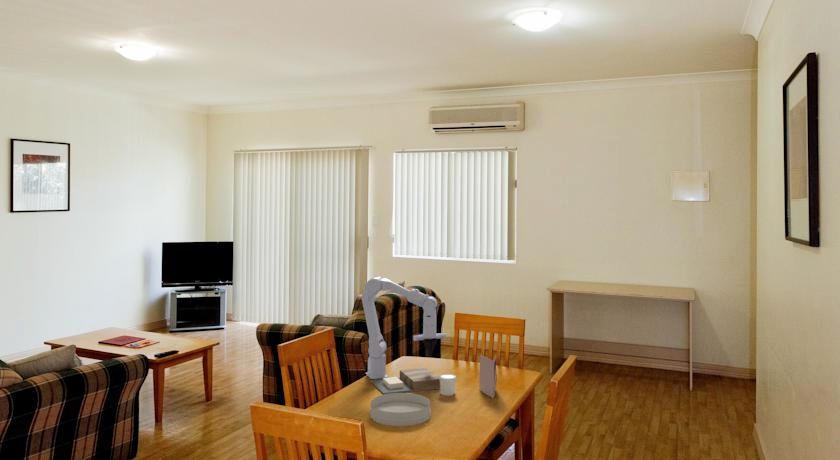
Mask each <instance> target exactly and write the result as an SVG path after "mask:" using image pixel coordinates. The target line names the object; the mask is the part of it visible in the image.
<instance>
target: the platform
mask: <svg viewBox="0 0 840 460" xmlns="http://www.w3.org/2000/svg"><path fill="white" fill-rule="evenodd" d="M399 379H401V380H402V381H403V382H404V383H405V384H407V385H408V386H409V387H410V388H411V389H412V390H413V391H412V392H419V391H425V390H426V391H428V390H436V389H440V378H439V376H438V375H437V374H436V373H434V372H433V371H431V370H430V369H428V368H427V367H418V368H416V367H415V368H405V369H399Z"/></svg>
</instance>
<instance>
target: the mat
mask: <svg viewBox="0 0 840 460" xmlns="http://www.w3.org/2000/svg"><path fill="white" fill-rule="evenodd" d="M397 378H398V379H400V377H397ZM400 380H401V379H400ZM401 381H402V380H401ZM402 382H403V381H402ZM370 383H371V384H372V385H373V386H375V388H377V390H378V391H379V392H380V393H381V395H384V394H390V393H410V392H414V391H413V390H412V389H411V388H410V387H409V386H408V385H407V384H405V383H404V382H403V388H394V389H389V388H388V387H387V386H386V385H385V384H384V383H383V378H381V379H371V380H370Z"/></svg>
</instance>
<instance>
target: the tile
mask: <svg viewBox="0 0 840 460" xmlns="http://www.w3.org/2000/svg"><path fill="white" fill-rule="evenodd" d="M398 378H399V377H397V376H391V377H388V378H382V379H383V383H384V384H385V385H386V386H387V387H388V388H389V389H394V388H403V382H402V381H401V380H400V378H399V379H398Z"/></svg>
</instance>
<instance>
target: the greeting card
mask: <svg viewBox="0 0 840 460" xmlns="http://www.w3.org/2000/svg"><path fill="white" fill-rule="evenodd" d="M497 361H498V358H497V355H495V356H494V359H493V360H492V359H490V358H489V357H486V356H484V355H483V354H479V385H478V386H479V387H478V388H479V389H478V391H480V392H481V391H482V393H483V394H485V395H487V396H488V397H490V398H492V399H495V395H496V391H497V383H498V381H497V379H498V377H497V376H498V375H497Z"/></svg>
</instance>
